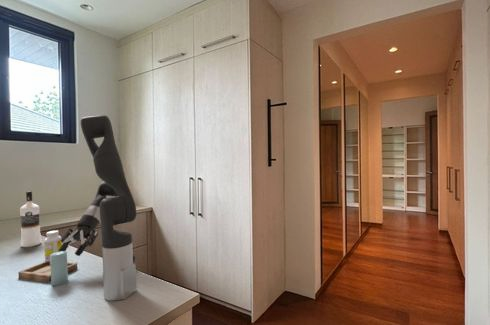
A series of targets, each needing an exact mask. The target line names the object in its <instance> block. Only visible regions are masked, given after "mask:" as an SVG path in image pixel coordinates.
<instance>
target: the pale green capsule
mask: <svg viewBox="0 0 490 325" xmlns="http://www.w3.org/2000/svg"><path fill="white" fill-rule="evenodd" d="M67 252H68V251H67V250H66V251H60V252H55V253H53V254H51V255H50V268H51V282H50V283H51V286H56V287H57V286H60V285H64V284H65V283H68V281H69V273H68V267H67V262H68V253H67Z"/></svg>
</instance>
